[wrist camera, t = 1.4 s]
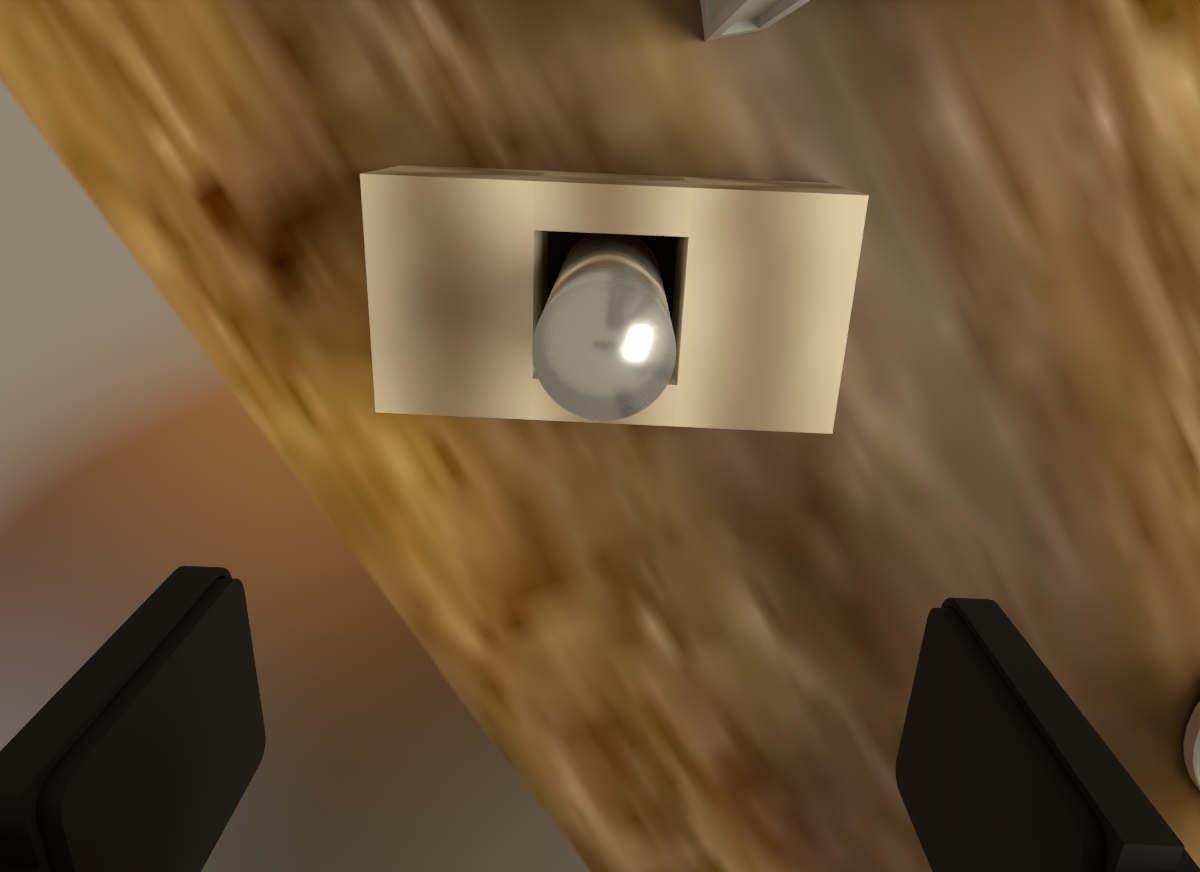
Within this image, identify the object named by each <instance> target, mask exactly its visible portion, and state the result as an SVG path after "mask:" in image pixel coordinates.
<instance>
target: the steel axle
mask: <svg viewBox="0 0 1200 872" xmlns="http://www.w3.org/2000/svg"><path fill="white" fill-rule="evenodd" d="M532 357H533V363H534V368H535V371H536V374H537V377H538V379H539V381H540V383H541V385H542V386H543V388H544V389H545V391H546V392H547V394H548V395H549V396H550V397H551V398H552V399H553V400H554V401H555V402H556V403H557V404H558V405H560V406H561V407H563V408H564V409H565V410H567V411H569V412H571V413H573V414H575V415H578V416H580V417H583V418H587V419H591V420H600V421H611V420H618V419H622V418H626V417H629V416H632V415H634V414H637V413H638V412H640V411H642V410H644V409H645V408H647V407H648V406H649V405H651V404H652V403H653V402H654V401H655V400H656V399H657V398H658V397H659V396H660V395H661V393H662V392H663V391H664V389H665V388H666V386H667V384H668V383H669V381H670V378H671V376H672V374H673V370H674V367H675V361H676V342H675V336H674V331H673V327H672V322H671V318H670V313H669V309H668V305H667V300H666V296H665V291H664V287H663V282H662V278H661V274H660V269H659V265H658V262H657V260H656V257H655V256H654V254H653V252H652V251H651V249H650V248H649V247H648V246H647V245H646V244H645V243H644V242H643V241H642V240H641V239H639V238H638V237H636V236H634V235H630V234H607V233H591V234H589V235H587V236H585V237H584V238H582V239H581V240H580V241H578V242H577V243H576V244H575V245H574V246H573V247H572V249H571V250H570V252H569V253H568V255H567V257H566V259H565V261H564V263H563V265H562V268H561V270H560V272H559V275H558V277H557V279H556V282H555V284H554V286H553V289H552V291H551V293H550V296H549V298H548V300H547V303H546V305H545V307H544V310H543V312H542V314H541V317H540V319H539V321H538V324H537V327H536V329H535V333H534V337H533V344H532Z"/></svg>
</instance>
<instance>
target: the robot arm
mask: <svg viewBox="0 0 1200 872" xmlns="http://www.w3.org/2000/svg"><path fill="white" fill-rule="evenodd" d="M265 739H266V738H265V729H264V722H263V715H262V708H261V701H260V694H259V687H258V681H257V674H256V667H255V660H254V653H253V646H252V640H251V634H250V626H249V619H248V612H247V606H246V599H245V592H244V587H243V584H242V582H241V581H240V580H239V579H232V578H231V575H230V573H229V571H228V570H227V569H225V568H221V567H197V566H182V567H179V568H178V569H176V570H175V571H174V572H173V573H172V574H171V575H170V576H169V577H168V578H167V579H166V580H165V581H164V582H163V583H162V584H161V585H160V586H159V587H158V589H156V591H155V592H154V593H153V594H152V595H151V596H150V597H149V598H148V599H147V600H146V601H145V602H144V603H143V604H142V605H141V606H140V607H139V608H138V609H137V610H136V611H135V612H134V613H133V614H132V615H131V616H130V617H129V619H128V620H127V621H126V622H125V623H124V624H123V625H122V626H121V627H120V628H119V629H118V630H117V631H116V632H115V633H114V634H113V635H112V636H111V637H110V638H109V639H108V640H107V641H106V642H105V643H104V644H103V646H101V648H100V649H99V650H98V651H97V652H96V653H95V654H94V655H93V656H92V657H91V658H90V659H89V660H88V661H87V662H86V663H85V664H84V665H83V666H82V667H81V668H80V669H79V670H78V671H77V672H76V673H75V674H74V675H73V677H72V678H71V679H70V680H69V681H68V682H67V683H66V684H65V685H64V686H63V687H62V688H61V689H60V690H59V691H58V692H57V693H56V694H55V695H54V696H53V697H52V698H51V699H50V700H49V701H48V702H47V704H46V705H45V706H44V707H43V708H42V709H41V710H40V711H39V712H38V713H37V714H36V715H35V716H34V717H33V718H32V719H31V720H30V721H29V722H28V723H27V724H26V725H25V726H24V727H23V728H22V729H21V730H20V731H19V732H18V734H17V735H16V736H15V737H14V738H13V739H12V740H11V741H10V742H9V743H8V744H7V745H6V746H5V747H4V748H3V749H2V750H1V751H0V872H201V870H202V869H203V867H204V865H205V863H206V861H207V859H208V857H209V856H210V854H211V852H212V850H213V848H214V847H215V845H216V843H217V841H218V839H219V837H220V836H221V834H222V832H223V830H224V828H225V827H226V825H227V823H228V821H229V819H230V817H231V816H232V814H233V812H234V810H235V808H236V806H237V805H238V803H239V801H240V799H241V797H242V796H243V794H244V792H245V790H246V788H247V786H248V785H249V783H250V781H251V779H252V777H253V776H254V774H255V772H256V770H257V768H258V766H259V764H260V762H261V760H262V757H263V753H264V748H265ZM1183 747H1184V761H1185V764H1186V767H1187V770H1188V773H1189V776H1190V777H1191V779H1192V780H1193V782H1194V783H1195V785H1196V786H1197V788H1198V789H1199V790H1200V701H1199V702H1198V704H1197V705H1196V707H1195V708H1194V711H1193V713H1192V715H1191V718H1190V720H1189V722H1188V724H1187V728H1186V733H1185V738H1184V743H1183ZM896 780H897V785H898V789H899V792H900V794H901V797H902V799H903V802H904V804H905V806H906V809H907V811H908V814H909V816H910V818H911V821H912V823H913V826H914V828H915V830H916V833H917V835H918V838H919V840H920V843H921V845H922V847H923V850H924V852H925V855H926V857H927V859H928V862H929V864H930V867H931V869H932V871H933V872H1200V869H1199V867H1198V866H1197V865H1196V863H1195V862H1194V861H1193V859H1192V858H1191V857H1190V856H1189V854H1188V853H1187V852H1186V850H1185V849H1184V847H1185V846H1184V845H1183V844H1182V842H1181V841H1180V840H1179V838H1178V837H1177V836H1176V835H1175V833H1174V832H1173V831H1172V829H1171V828H1170V827H1169V825H1168V824H1167V823H1166V822H1165V820H1164V819H1163V818H1162V816H1161V815H1160V814H1159V813H1158V811H1157V810H1156V809H1155V807H1154V806H1153V805H1152V803H1151V802H1150V801H1149V800H1148V798H1147V797H1146V796H1145V794H1144V793H1143V792H1142V791H1141V789H1140V788H1139V787H1138V785H1137V784H1136V783H1135V781H1134V780H1133V779H1132V778H1131V776H1130V775H1129V774H1128V772H1127V771H1126V770H1125V769H1124V767H1123V766H1122V765H1121V763H1120V762H1119V761H1118V759H1117V758H1116V757H1115V756H1114V754H1113V753H1112V752H1111V750H1110V749H1109V748H1108V747H1107V745H1106V744H1105V743H1104V741H1103V740H1102V739H1101V737H1100V736H1099V735H1098V734H1097V732H1096V731H1095V730H1094V728H1093V727H1092V726H1091V725H1090V723H1089V722H1088V721H1087V719H1086V718H1085V717H1084V715H1083V714H1082V713H1081V712H1080V710H1079V709H1078V708H1077V706H1076V705H1075V704H1074V702H1073V701H1072V700H1071V699H1070V697H1069V696H1068V695H1067V693H1066V692H1065V691H1064V690H1063V688H1062V687H1061V686H1060V684H1059V683H1058V682H1057V680H1056V679H1055V678H1054V677H1053V675H1052V674H1051V673H1050V671H1049V670H1048V669H1047V668H1046V666H1045V665H1044V664H1043V662H1042V661H1041V660H1040V658H1039V657H1038V656H1037V655H1036V653H1035V652H1034V651H1033V649H1032V648H1031V647H1030V646H1029V644H1028V643H1027V642H1026V640H1025V639H1024V638H1023V636H1022V635H1021V634H1020V633H1019V631H1018V630H1017V629H1016V627H1015V626H1014V625H1013V624H1012V622H1011V621H1010V620H1009V618H1008V617H1007V616H1006V614H1005V613H1004V612H1003V611H1002V609H1001V608H1000V607H999V605H998V604H997V603H996V602H995V601H993V600H990V599H970V598H948V599H946V600H945V601H944V603H943V604H942V606H941V608H933V609H931V611H930V612H929V615H928V618H927V623H926V627H925V632H924V637H923V641H922V646H921V650H920V655H919V660H918V664H917V669H916V673H915V678H914V682H913V687H912V692H911V696H910V701H909V705H908V710H907V715H906V719H905V724H904V728H903V733H902V738H901V742H900V747H899V751H898V756H897V761H896Z"/></svg>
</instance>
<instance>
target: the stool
mask: <svg viewBox="0 0 1200 872" xmlns="http://www.w3.org/2000/svg"><path fill="white" fill-rule="evenodd" d="M808 1H810V0H700V4H701V13H702V22H703V31H704V39H705V42H707V41H712V40H717V39H722V38H728V37H733V36H738V35H743V34H749V33H754V32H759V31H763V30H765V29H766V28H768V27H769V26H771V25H773V24H774V23H776V22H777V21H779V20H780V19H782V18H783V17H785V16H787V15H788V14H790V13H791V12H793V11H794V10H796V9H798V8H799V7H801V6H802V5H804V4H805V3H807V2H808Z"/></svg>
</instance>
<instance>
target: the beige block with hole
mask: <svg viewBox="0 0 1200 872" xmlns="http://www.w3.org/2000/svg"><path fill="white" fill-rule="evenodd" d="M360 184H361V199H362V215H363V230H364V245H365V260H366V275H367V291H368V306H369V321H370V336H371V352H372V367H373V382H374V397H375V412H378V413H399V414H421V415H442V416H464V417H485V418H506V419H528V420H549V421H571V422H592V423H613V424H635V425H656V426H678V427H699V428H720V429H742V430H763V431H785V432H806V433H827V434H832V433H833V426H834V419H835V413H836V406H837V400H838V393H839V387H840V380H841V374H842V367H843V361H844V354H845V348H846V341H847V335H848V328H849V321H850V315H851V308H852V302H853V295H854V289H855V282H856V276H857V269H858V263H859V256H860V250H861V243H862V237H863V230H864V223H865V217H866V210H867V204H868V197H869V195H866V194H863V193H860V192H856V191H853V190H850V189H847V188H844V187H841V186H838V185H835V184H831V183H822V182H799V181H775V180H752V179H728V178H705V177H681V176H658V175H634V174H610V173H587V172H563V171H540V170H516V169H493V168H469V167H446V166H422V165H399V166H394V167H390V168H385V169H380V170H375V171H370V172H366V173H361V174H360ZM548 231H562V232H585V233H607V234H630V235H653V236H676V237H677V249H676V263H675V277H674V291H673V305H672V319H671V322H672V327H673V331H674V336H675V342H676V361H675V367H674V370H673V374H672V376H671V378H670V381H669V383H668V384H667V386H666V388H665V389H664V391H663V392H662V393H661V395H660V396H659V397H658V398H657V399H656V400H655V401H654V402H653V403H652V404H651V405H649V406H648V407H647V408H645V409H644V410H642V411H640V412H638V413H637V414H634V415H632V416H629V417H626V418H622V419H618V420H611V421H600V420H591V419H587V418H583V417H580V416H578V415H575V414H573V413H571V412H569V411H567V410H565V409H564V408H563V407H561V406H560V405H558V404H557V403H556V402H555V401H554V400H553V399H552V398H551V397H550V396H549V395H548V394H547V392H546V391H545V389H544V388H543V386H542V385H541V383H540V381H539V379H538V377H537V374H536V371H535V368H534V363H533V357H532V344H533V337H534V333H535V329H536V327H537V324H538V321H539V319H540V317H541V314H542V312H543V310H544V307H545V305H546V303H547V276H548Z"/></svg>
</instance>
